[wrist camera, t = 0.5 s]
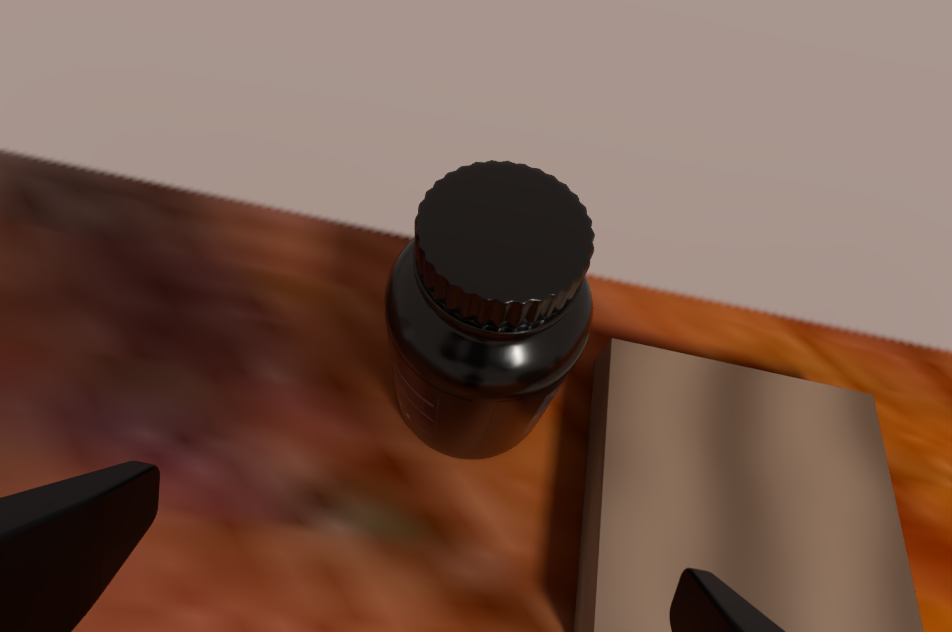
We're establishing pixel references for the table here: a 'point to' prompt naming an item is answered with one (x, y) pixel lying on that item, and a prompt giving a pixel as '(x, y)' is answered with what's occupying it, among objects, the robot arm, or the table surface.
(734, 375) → the light brown block
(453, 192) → the supplement bottle
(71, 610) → the robot arm
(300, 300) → the table surface
